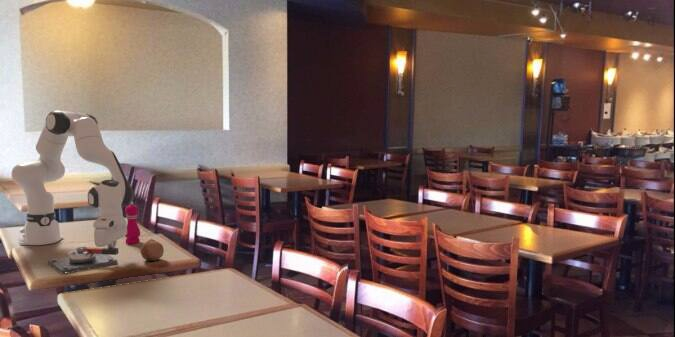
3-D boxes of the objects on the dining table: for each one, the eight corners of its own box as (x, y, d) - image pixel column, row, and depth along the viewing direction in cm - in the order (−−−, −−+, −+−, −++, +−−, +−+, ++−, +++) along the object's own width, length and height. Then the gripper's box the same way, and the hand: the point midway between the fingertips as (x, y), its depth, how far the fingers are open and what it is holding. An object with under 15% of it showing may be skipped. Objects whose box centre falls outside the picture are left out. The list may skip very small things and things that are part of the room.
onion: (149, 265, 244) (148, 242, 247) (168, 261, 241) (167, 238, 245) (136, 263, 235) (135, 239, 238) (155, 258, 233) (154, 235, 236)
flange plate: (47, 263, 233) (47, 258, 233) (101, 254, 248) (101, 249, 248) (61, 274, 220) (61, 268, 220) (117, 263, 235) (117, 258, 235)
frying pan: (64, 262, 229) (63, 250, 228) (77, 255, 239) (76, 244, 238) (111, 264, 228) (111, 252, 227) (122, 257, 238) (122, 245, 237)
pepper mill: (135, 245, 265) (134, 203, 262) (121, 243, 266) (120, 202, 263) (143, 241, 272) (142, 200, 269) (130, 240, 273) (128, 199, 271)
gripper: (116, 213, 243) (117, 244, 245) (90, 224, 223) (91, 258, 225) (130, 214, 243) (131, 245, 245) (105, 225, 223) (106, 259, 225)
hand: (112, 251), depth 235 cm, fingers closed
